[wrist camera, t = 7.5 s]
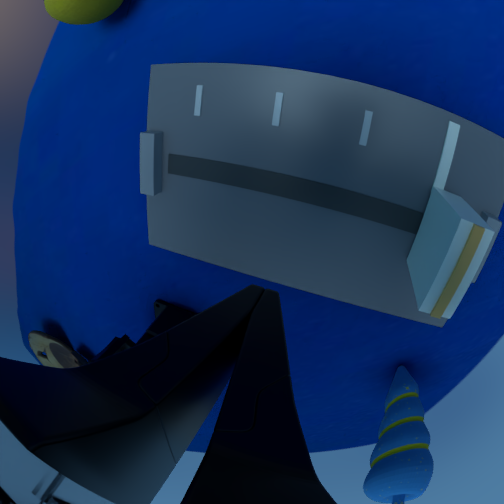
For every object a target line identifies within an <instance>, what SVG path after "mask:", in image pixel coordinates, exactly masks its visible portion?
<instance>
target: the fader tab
mask: <svg viewBox="0 0 504 504" xmlns="http://www.w3.org/2000/svg"><path fill="white" fill-rule="evenodd" d="M494 233H495V232H494V231H493V230H492V229H491V227H490V226H489V225H488V224H487V223H486V222H485V221H484V220H483V219H482V218H481V217H480V216H479V215H478V213H477V212H476V211H475V210H474V209H473V208H472V207H471V206H470V205H469V204H468V203H467V202H466V201H465V200H464V199H463V198H462V197H460V196H457V195H455V194H452V193H450V192H447V191H445V190H442V189H439V188H437V187H434V186H433V189H432V192H431V195H430V198H429V201H428V204H427V207H426V210H425V213H424V216H423V219H422V222H421V224H420V227H419V230H418V232H417V235H416V238H415V240H414V243H413V245H412V248H411V250H410V253H409V255H408V258H407V260H406V261H407V264H408V268H409V272H410V276H411V280H412V284H413V288H414V293H415V297H416V301H417V306H418V311H421V312H425V313H429V314H430V316H431V317H435V318H439V319H440V318H441V317H444V318H448V319H450V318H451V316H452V315H453V313H454V311H455V310H456V308H457V306H458V305H459V303H460V301H461V300H462V298H463V296H464V294H465V292H466V291H467V289H468V287H469V285H470V283H471V281H472V280H473V278H474V276H475V274H476V272H477V270H478V268H479V266H480V264H481V262H482V260H483V257H484V255H485V253H486V251H487V249H488V247H489V244H490V242H491V240H492V237H493V235H494Z"/></svg>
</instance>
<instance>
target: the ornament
mask: <svg viewBox="0 0 504 504" xmlns="http://www.w3.org/2000/svg"><path fill="white" fill-rule="evenodd" d="M418 395H419V388H418V385H417V383H416V382H415V380H414V379H413V378H412V376H411V375H410V374H409V372H408V371H407V369H406V368H405V366H403V365H401V366H399V367H398V368H397V370H396V373H395V376H394V379H393V381H392V384H391V387H390V389H389V392H388V394H387V397H386V401H385V407H384V409H385V415H384V417H383V420H382V422H381V425H380V428H379V433H378V437H379V441H378V443H377V444H376V446H375V448H374V450H373V452H372V455H371V458H370V466H371V470H370V471H369V473H368V475H367V477H366V479H365V481H364V485H363V489H364V493H365V494H366V496H367V497H368V498H370V499H371V500H374V501H376V502H381V503H392V504H404V501H408V500H412V499H415V498H417V497H419V496H420V495H422V494H423V492H424V491H425V490H426V488H427V486H428V484H429V482H430V480H431V477H432V473H433V459H432V456H431V454H430V452H429V449H428V446H429V444H430V434H429V432H428V429H427V428H426V426H425V424H424V422H423V420H424V409H423V406H422V404H421V402H420V400H419V398H418Z"/></svg>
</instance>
